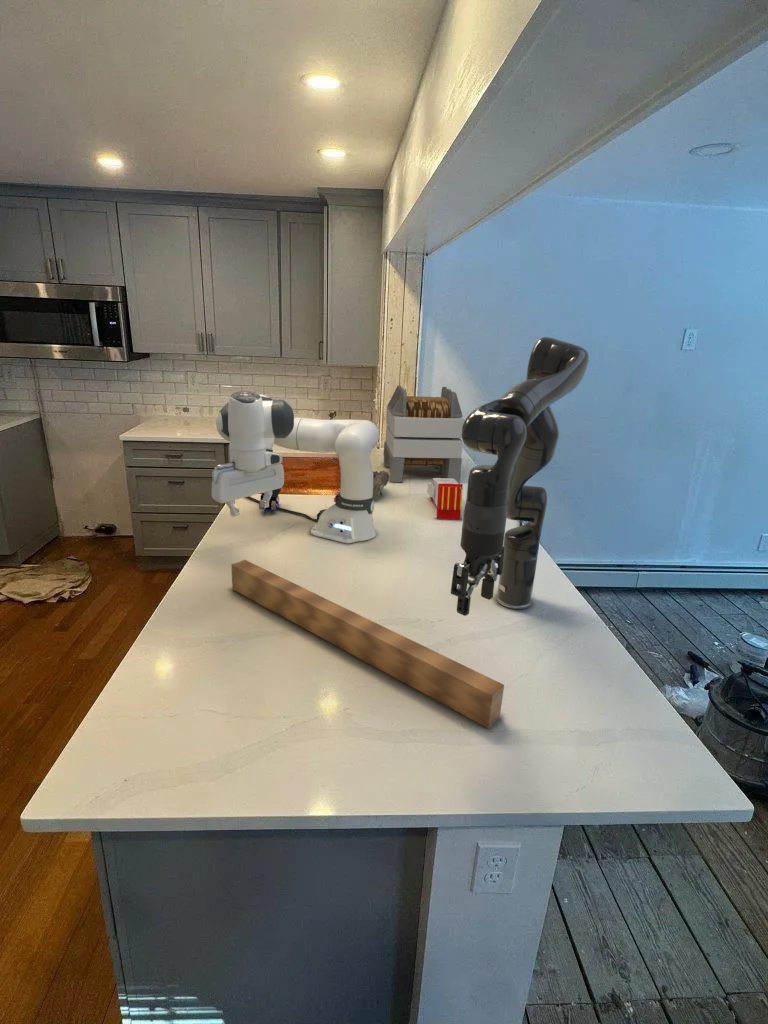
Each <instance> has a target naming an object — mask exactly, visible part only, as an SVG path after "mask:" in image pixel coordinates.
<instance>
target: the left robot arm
mask: <svg viewBox="0 0 768 1024" xmlns="http://www.w3.org/2000/svg"><path fill="white" fill-rule="evenodd" d="M292 407H293V406H291V405H290V404H289V403H288V402H287V401H286V400H284V399H273V398H271V397H269V396H268V395H265V394H261V393H256V392H254V391H251V390H250V391H249V390H240V391H236V392H233V393H232V394H230V395H229V399H228V402H227V403H225V404H224V405H223V407H222V408H221V409H220V410H219V413H218V415H217V417H216V421H215V425H216V430H217V432H218V434H219V435H220V436H221V438H223V439H224V440H226V441H228V442H229V445H228V449H229V462H227V463H226V462H225V463H223V464H218V465H216V467H214V469H213V470H212V472H211V476H212V477H211V479H212V481H211V498H212V499H213V500H214V501H215V502H216V503H220V504H225V505H226V506H227V508H228V509H229V514H230V517H233V518H235V517H238V516H240V509H239V508H237V507H236V506H235V504H236V501H237V500H241V499H244V498H247V499H249V500H250V501H254V502H255V503H258V504H259V503H261V504H260V506H261V507H263V508H266V507H269V500H270V498H271V496H272V490H275V489H279V488H281V489H282V488H283V486H284V483H285V470H284V469H285V468H284V466H283V464H282V463H283V455H282V454H280V453H278V452H275V451H274V449H273V448H274V445H276V446H278V447H281V448H285V449H288V450H294V451H300V452H309V453H310V452H311V453H319V454H327V453H336V454H337V458H338V459H337V460H338V464H339V471H340V490H339V491H338V492H337V494H336V495H335V496H334V497H333V502H334V504H333V505H331V506H329V507H328V508H325V509H321V510H319V512H317V515H316V518H315V519H314V518H312V517H311V516H310V515H308V514H306V513H303V512H299V511H294V510H291V509H287V508H283V507H280V506H278V507H276V510H278V511H282V512H285V513H290V514H294V515H298V516H302V517H305V518H306V519H308V520H310V521H312V522H317V523H315V524H314V525H313V526H312V528H311V530H310V533H311V536H315V537H319V538H323V539H326V540H330V541H336V542H339V543H343V544H352V543H357V542H365V541H368V540H372V539H373V538H375V537H376V535H377V532H376V528H375V523H374V513H373V512H374V509H375V497H374V496H373V472H374V471H373V467H372V461H371V460H372V459H371V455H372V450H373V449H374V448H375V447H376V446H377V444H378V443H379V439H380V432H379V431H380V430H379V427H378V426H377V425H376V423H374V422H373V421H371V420H367V419H320V418H309V417H295V414H294V410H293V408H292ZM262 493H265V494H264V497H263V500H259V499H256V498H254V497H252V496H256V495H261V494H262Z"/></svg>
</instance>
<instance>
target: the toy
mask: <svg viewBox="0 0 768 1024" xmlns="http://www.w3.org/2000/svg"><path fill="white" fill-rule="evenodd" d="M463 485H464V484H463V483H460V482H459V483H458V482H457V481H456V480H455V479H454V478H444V477H432V482H431V481H428V482H427V493H428V494H429V498H430V500H431V501H432V502H433V504H435V506H436V519H437V520H461V518H462V516H461V515H462V507H463V490H464V487H463Z"/></svg>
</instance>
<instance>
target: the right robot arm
mask: <svg viewBox="0 0 768 1024" xmlns="http://www.w3.org/2000/svg"><path fill="white" fill-rule="evenodd" d="M528 359H529V360H528V363H527V369H526V376H525V377H526V378H525V380H523V381H520V382H518V383H516V384H514V385H513V386H512V387H510V389H508V391H506V392H505V393H504V394H503V395H502V396H501V397H500V398H497V399H493V400H492V401H489V402H487V403H485V404H481V405H480V406H478V407H477V408H475V409H474V410H472V411H471V412H470V413H469V414H468V415H467V416H466V418H465V419H464V420H465V421H464V424H463V427H462V438H461V440H462V441H463V445H465V447H466V448H468V449H469V450H471V451H473V452H477V453H483V454H488V455H489V454H490V455H493V456H497V457H496V461H495V463H494V464H481V465H476V466H473V467H472V468H471V469H470V470H469V473H468V479H467V487H466V488H467V489H466V497H465V498H466V499H465V504H464V508H463V516H462V525H461V535H460V548H461V549H462V550H463V552H464V553H465V558H464V561H463V563H458V562H456V563H454V566H453V572H452V579H451V587H450V594H451V595H452V596H454V597H457V601H456V602H457V603H456V612H457V614H459V615H462V616H464V617H466V616H468V615H469V614H470V607H471V596H472V594H473V591H474V589H475V588H477V587H478V586H479V584H480V582H481V580H482V582H481V589H480V596H481V598H483V599H487V600H492V599H493V597H494V596H493V595H494V589H495V582H496V581H497V580H498V586H497V592H496V593H497V594H496V597H495V598H496V602H497V603H498V604H499V605H500V606H503V607H504V608H508V609H512V610H525V609H528V608H530V606H531V605H532V598H533V597H532V596H533V590H534V583H535V578H536V569H537V564H538V556H539V549H540V543H541V536H542V532H543V531H542V529H543V524H544V520H545V517H546V516H545V515H546V511H547V505H548V492H547V490H546V488H544V487H543V486H536V485H535V486H534V485H525V484H526V483H527V482H529V480H531V478H533V477H534V476H535V475H536V474H538V473H539V472H540V471H542V470H543V469H544V468H545V467H546V466H548V465H549V463H550V462H551V461H552V460H553V458H554V456H555V452H556V449H557V445H558V442H559V437H560V430H559V425H558V422H557V419H556V417H555V414H554V412H553V410H552V408H551V405H553V404H555V403H557V402H558V401H559V400H561V399H563V398H564V397H565V396H567V395H569V394H570V393H572V392H573V391H574V390H575V389H576V388H577V387H578V386H579V384H581V382H582V380H583V379H584V376H585V374H586V372H587V368H588V366H589V362H590V355H589V352H588V350H587V349H585V348H584V347H583V346H580V345H577V344H574V343H571V342H567V341H564V340H561V339H557V338H553V337H548V336H543V337H541V338H538V340H537V341H536V342H535V344H534V345H533V347H532V349H531V351H530V354H529V358H528ZM507 520H511V521H519V526H517V527H513V528H510V529H507V530H506V526H507ZM523 522H526V523H525V524H523ZM496 564H497V566H496ZM469 578H470V579H469ZM471 579H472V580H471Z"/></svg>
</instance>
